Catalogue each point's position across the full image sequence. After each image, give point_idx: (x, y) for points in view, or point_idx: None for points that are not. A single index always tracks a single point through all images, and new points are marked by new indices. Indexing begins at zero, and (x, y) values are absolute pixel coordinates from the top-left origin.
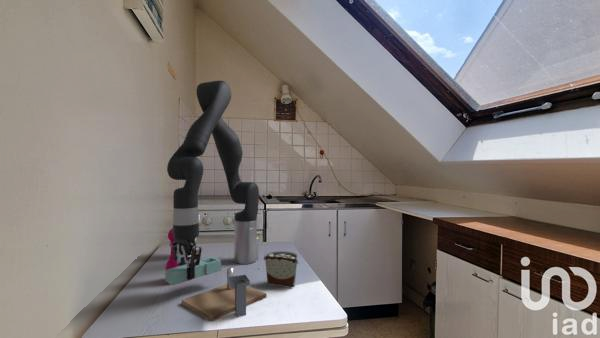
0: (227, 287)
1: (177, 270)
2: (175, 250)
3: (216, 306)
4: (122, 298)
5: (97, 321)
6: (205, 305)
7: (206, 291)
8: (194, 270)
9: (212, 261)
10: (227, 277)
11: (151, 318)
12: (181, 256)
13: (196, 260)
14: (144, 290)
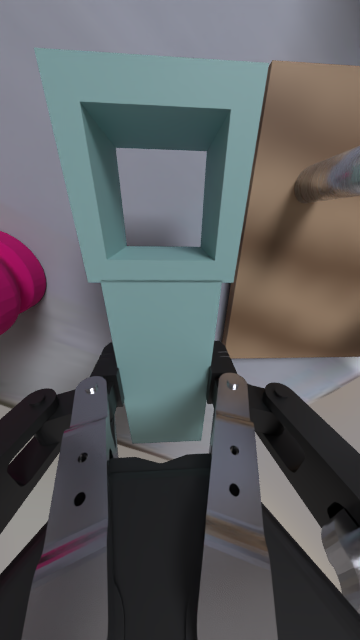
0: (311, 202)
1: (182, 422)
2: (8, 515)
3: (351, 321)
4: None
5: (162, 452)
6: (315, 336)
7: (239, 279)
8: (232, 365)
9: (122, 121)
10: (354, 196)
11: None
12: (116, 456)
13: (283, 421)
14: (50, 374)
